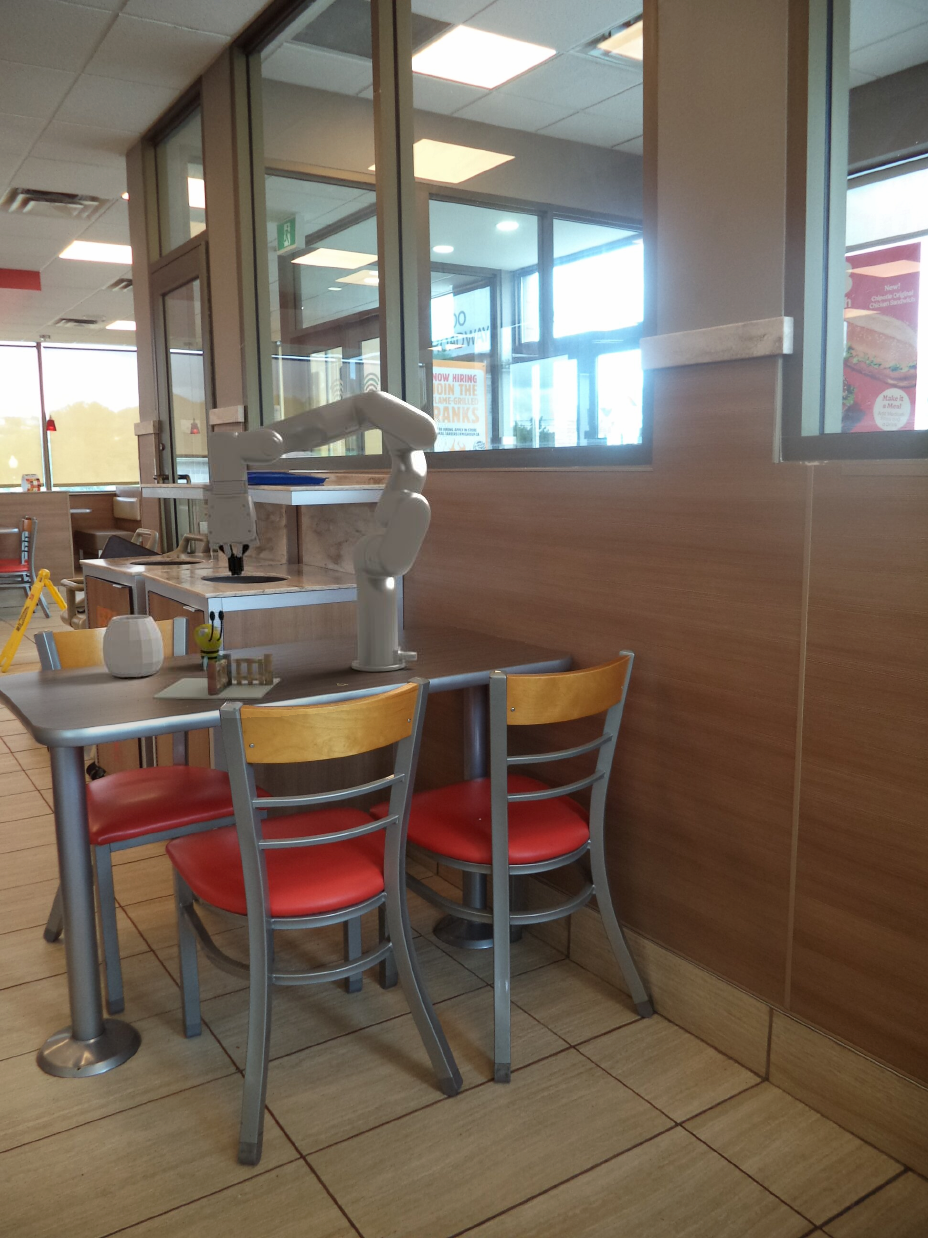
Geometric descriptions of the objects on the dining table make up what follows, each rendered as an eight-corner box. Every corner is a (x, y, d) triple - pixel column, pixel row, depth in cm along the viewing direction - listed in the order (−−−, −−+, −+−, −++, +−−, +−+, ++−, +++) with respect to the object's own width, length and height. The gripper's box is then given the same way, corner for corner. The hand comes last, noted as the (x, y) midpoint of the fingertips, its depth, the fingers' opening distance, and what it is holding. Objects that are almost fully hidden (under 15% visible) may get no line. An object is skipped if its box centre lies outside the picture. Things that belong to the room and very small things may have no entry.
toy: (213, 610, 238) (230, 609, 225) (217, 667, 238) (235, 669, 225) (187, 612, 235) (203, 611, 222) (192, 669, 235) (208, 671, 222)
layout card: (280, 680, 215) (280, 678, 215) (259, 698, 196) (259, 696, 196) (182, 680, 216) (182, 678, 216) (152, 698, 197) (152, 696, 197)
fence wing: (221, 684, 208) (220, 654, 207) (230, 684, 208) (229, 654, 207) (206, 694, 198) (205, 663, 197) (215, 694, 198) (214, 663, 197)
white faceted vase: (130, 683, 213) (127, 622, 211) (91, 677, 220) (88, 618, 218) (176, 673, 224) (174, 615, 222) (138, 667, 231) (135, 612, 229)
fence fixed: (274, 685, 210) (273, 653, 209) (272, 687, 208) (271, 655, 207) (225, 685, 210) (223, 653, 209) (222, 687, 208) (221, 655, 207)
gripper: (190, 491, 203) (197, 578, 206) (261, 488, 202) (267, 575, 205) (200, 490, 210) (207, 574, 213) (268, 487, 210) (274, 571, 213)
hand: (236, 574), depth 209 cm, fingers closed
